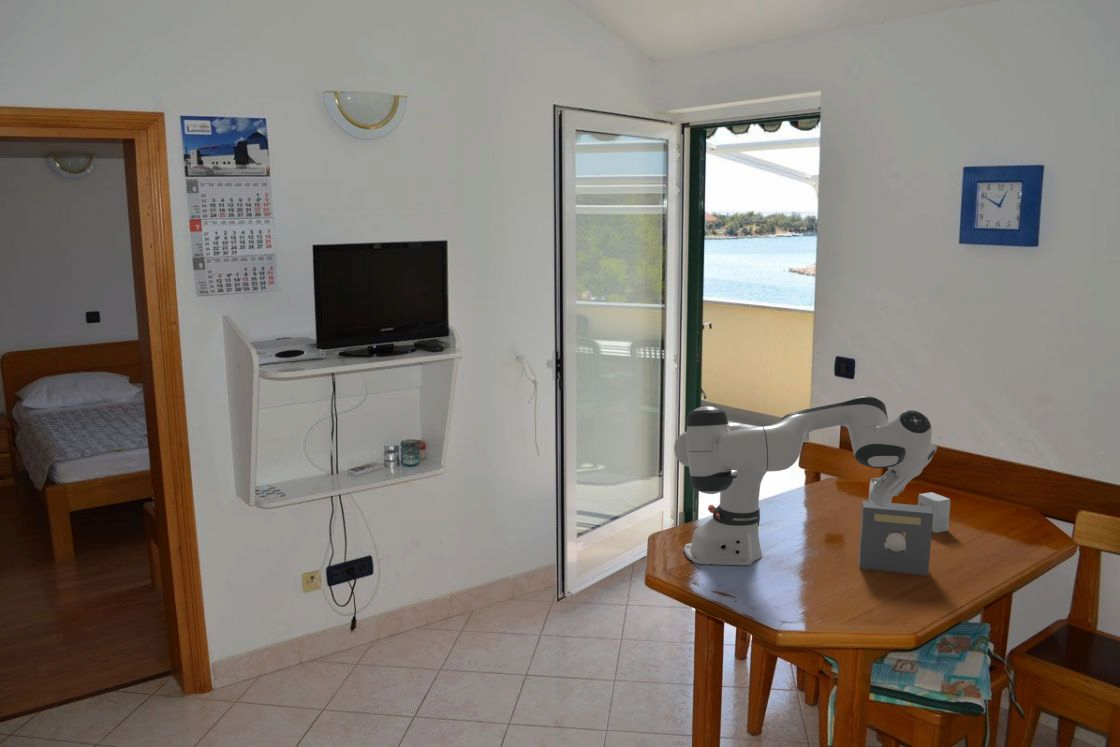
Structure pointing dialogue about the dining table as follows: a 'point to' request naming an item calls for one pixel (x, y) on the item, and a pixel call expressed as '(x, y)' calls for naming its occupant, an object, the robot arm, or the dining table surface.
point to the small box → (937, 510)
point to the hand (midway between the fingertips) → (897, 491)
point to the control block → (898, 519)
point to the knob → (895, 540)
